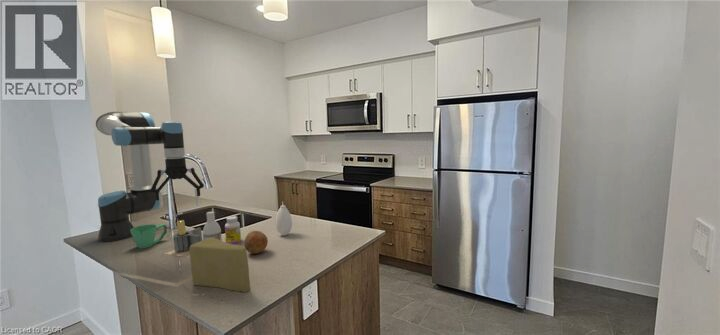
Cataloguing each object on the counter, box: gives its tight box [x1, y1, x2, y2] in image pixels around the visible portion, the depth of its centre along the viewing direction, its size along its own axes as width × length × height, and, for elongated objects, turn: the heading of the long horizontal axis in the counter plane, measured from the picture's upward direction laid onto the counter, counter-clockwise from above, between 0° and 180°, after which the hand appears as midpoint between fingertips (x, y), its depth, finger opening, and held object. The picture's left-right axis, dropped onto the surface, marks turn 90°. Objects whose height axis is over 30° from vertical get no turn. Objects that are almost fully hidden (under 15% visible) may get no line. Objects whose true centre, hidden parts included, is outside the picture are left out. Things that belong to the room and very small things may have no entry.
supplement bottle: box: [224, 215, 242, 245], centre depth 145 cm, size 7×7×13 cm
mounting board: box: [162, 248, 190, 258], centre depth 138 cm, size 15×16×1 cm
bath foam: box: [202, 211, 223, 241], centre depth 128 cm, size 7×7×20 cm
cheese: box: [189, 238, 251, 293], centre depth 105 cm, size 22×10×15 cm, turn 64°
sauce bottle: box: [275, 200, 293, 237], centre depth 155 cm, size 8×8×18 cm
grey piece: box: [172, 227, 203, 252], centre depth 139 cm, size 13×13×7 cm
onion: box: [243, 230, 269, 255], centre depth 133 cm, size 10×10×10 cm
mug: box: [130, 223, 168, 249], centre depth 144 cm, size 15×10×10 cm
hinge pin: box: [176, 219, 187, 236], centre depth 136 cm, size 3×3×13 cm
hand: (179, 205), depth 135 cm, fingers open, 13 cm apart
